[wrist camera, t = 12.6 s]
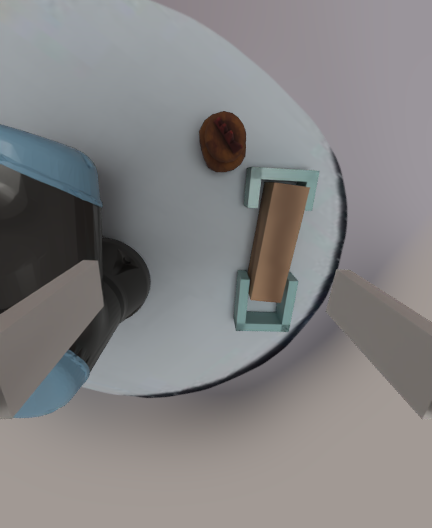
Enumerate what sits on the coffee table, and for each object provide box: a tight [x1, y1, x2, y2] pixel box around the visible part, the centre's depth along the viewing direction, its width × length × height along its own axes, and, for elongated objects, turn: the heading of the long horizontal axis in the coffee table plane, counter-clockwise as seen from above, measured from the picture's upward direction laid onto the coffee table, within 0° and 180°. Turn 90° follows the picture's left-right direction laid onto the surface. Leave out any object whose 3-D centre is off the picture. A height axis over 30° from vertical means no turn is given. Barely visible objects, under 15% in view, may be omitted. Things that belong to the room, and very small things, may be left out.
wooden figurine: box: [199, 111, 246, 172], centre depth 27 cm, size 7×6×15 cm
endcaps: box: [234, 167, 319, 332], centre depth 38 cm, size 10×27×4 cm, turn 177°
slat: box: [247, 182, 310, 303], centre depth 37 cm, size 5×18×6 cm, turn 173°
